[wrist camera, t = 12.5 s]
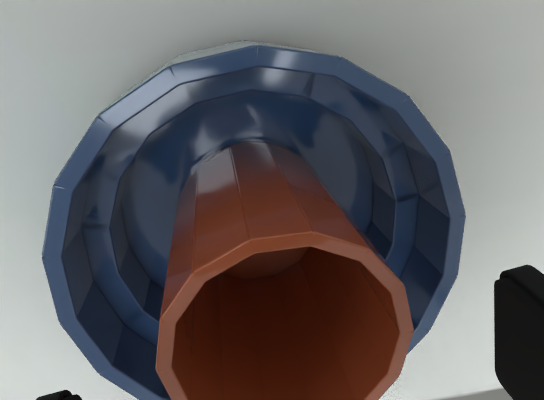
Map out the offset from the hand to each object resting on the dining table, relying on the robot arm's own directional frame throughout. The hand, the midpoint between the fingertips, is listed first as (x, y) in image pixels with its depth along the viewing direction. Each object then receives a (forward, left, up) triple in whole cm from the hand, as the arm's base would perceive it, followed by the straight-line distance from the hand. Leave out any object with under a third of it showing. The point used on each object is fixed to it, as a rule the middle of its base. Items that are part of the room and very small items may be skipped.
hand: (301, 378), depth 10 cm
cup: (0, 0, -11) cm, 11 cm away
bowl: (0, 0, -11) cm, 11 cm away
